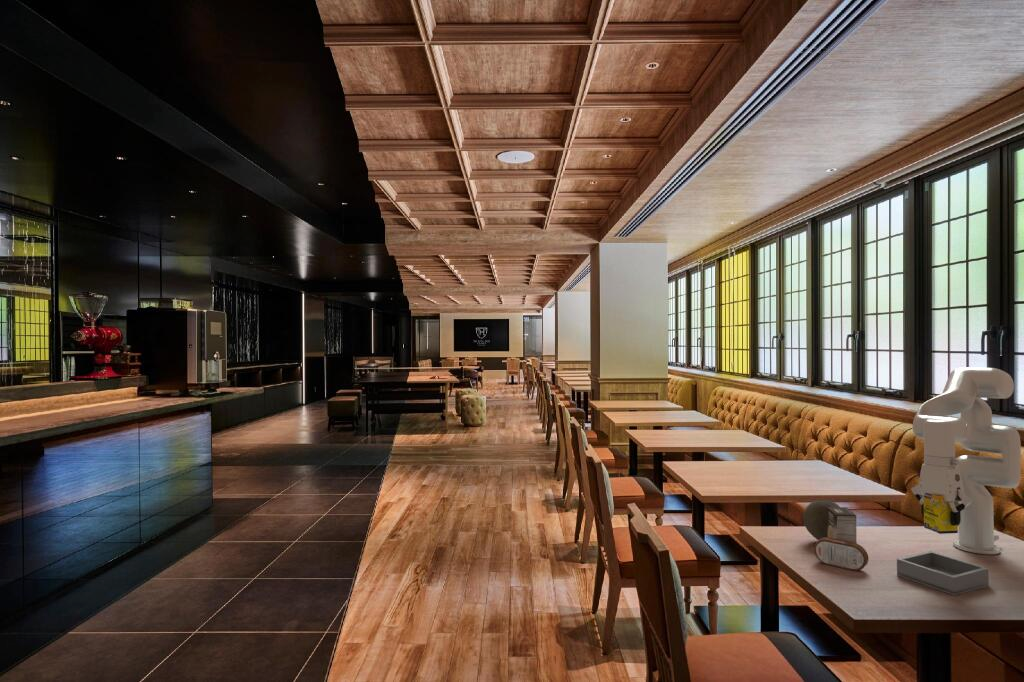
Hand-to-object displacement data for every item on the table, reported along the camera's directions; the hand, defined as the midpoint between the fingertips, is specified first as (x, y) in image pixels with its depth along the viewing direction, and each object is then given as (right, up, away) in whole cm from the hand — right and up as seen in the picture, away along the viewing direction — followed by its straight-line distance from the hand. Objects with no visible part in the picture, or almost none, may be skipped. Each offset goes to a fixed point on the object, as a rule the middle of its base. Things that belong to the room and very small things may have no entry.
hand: (940, 520), depth 174 cm
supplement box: (0, -3, 0) cm, 3 cm away
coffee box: (-19, -18, +18) cm, 32 cm away
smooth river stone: (-16, -18, +33) cm, 41 cm away
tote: (0, -18, 0) cm, 18 cm away
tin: (-23, -18, +11) cm, 32 cm away
